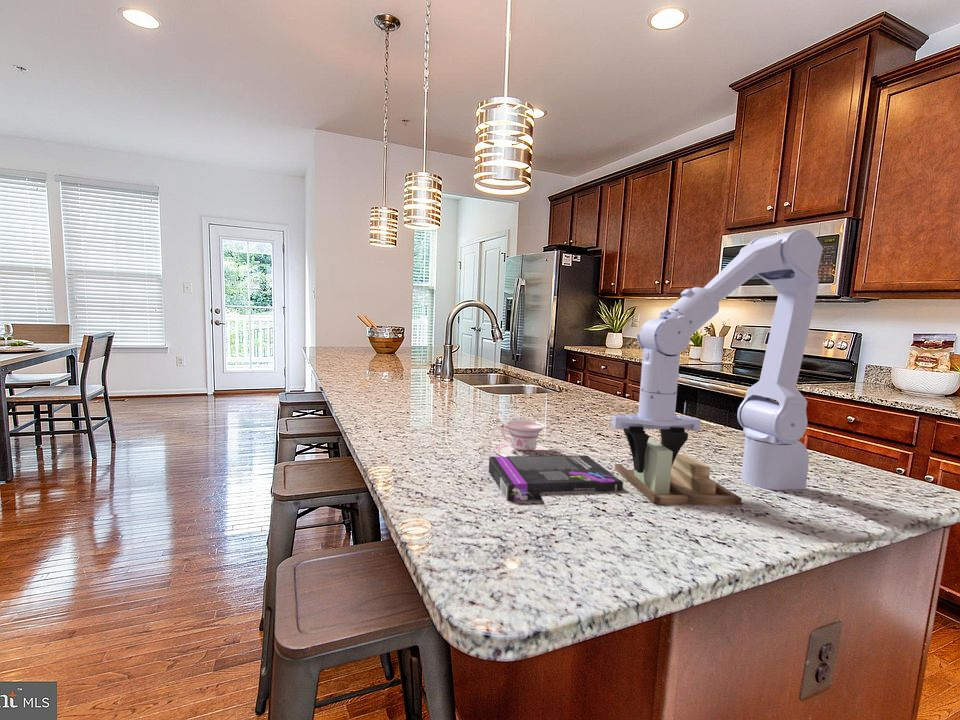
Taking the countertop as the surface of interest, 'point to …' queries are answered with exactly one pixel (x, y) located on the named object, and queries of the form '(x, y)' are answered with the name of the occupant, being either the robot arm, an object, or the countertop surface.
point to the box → (549, 476)
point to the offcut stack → (693, 474)
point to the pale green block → (656, 468)
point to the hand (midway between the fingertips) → (651, 471)
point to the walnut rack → (680, 492)
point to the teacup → (520, 437)
